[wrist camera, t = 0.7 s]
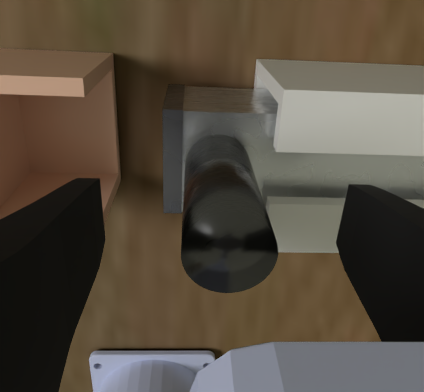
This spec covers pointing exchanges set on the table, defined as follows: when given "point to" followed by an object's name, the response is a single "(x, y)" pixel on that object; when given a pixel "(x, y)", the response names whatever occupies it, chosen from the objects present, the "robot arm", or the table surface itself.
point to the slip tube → (249, 180)
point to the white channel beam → (337, 131)
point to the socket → (56, 124)
